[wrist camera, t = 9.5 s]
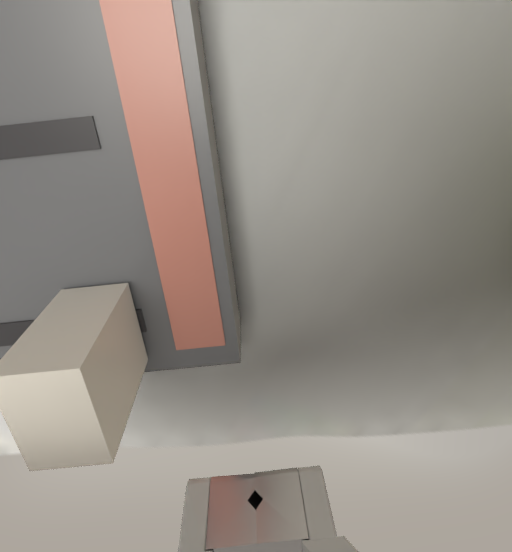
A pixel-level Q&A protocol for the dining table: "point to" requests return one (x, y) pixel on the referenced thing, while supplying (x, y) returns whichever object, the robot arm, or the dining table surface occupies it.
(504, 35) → the dining table surface
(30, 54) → the panel
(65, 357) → the block
